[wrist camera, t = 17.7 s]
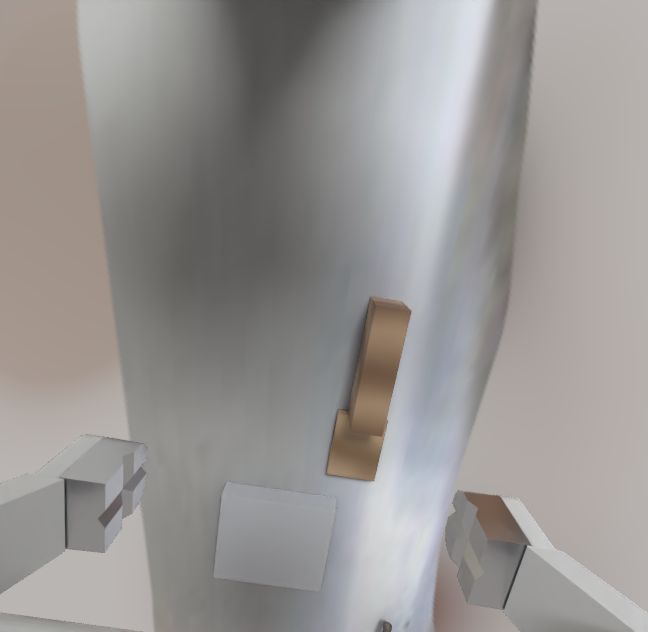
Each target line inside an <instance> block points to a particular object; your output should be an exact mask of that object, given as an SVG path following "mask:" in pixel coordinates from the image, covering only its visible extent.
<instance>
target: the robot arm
mask: <svg viewBox="0 0 648 632" xmlns="http://www.w3.org/2000/svg"><path fill="white" fill-rule="evenodd" d="M146 459H147V446H146V445H145V444H144V443H138V442H133V441H127V440H120V439H115V438H109V437H102V436H96V435H89V434H86V435H81V436H80V437H79V438H78V439H76V440H75V441H74V442H73V443H72V444H70V445H69V446H68V447H67V448H65V449H64V450H63V451H62V452H61V453H59V454H58V455H57V456H56V457H55V458H53V459H52V460H51V461H50V462H48V463H47V464H46V465H45V466H44V467H42V468H41V469H40V470H39V471H38V472H36V473H35V474H25V475H22V476H19V477H16V478H13V479H11V480H8V481H5V482H2V483H0V594H1V593H3V592H4V591H6V590H7V589H9V588H10V587H11V586H13V585H15V584H16V583H18V582H19V581H21V580H22V579H24V578H25V577H27V576H28V575H30V574H31V573H33V572H34V571H36V570H37V569H39V568H40V567H42V566H43V565H45V564H46V563H48V562H49V561H51V560H52V559H54V558H56V557H57V556H59V555H60V554H62V553H63V552H65V549H72V550H82V551H91V552H101V553H105V551H106V550H107V549H108V547H109V546H110V544H111V543H112V542H113V540H114V539H115V537H116V536H117V534H118V533H119V532H120V530H121V528H122V519H123V518H125V517H127V516H129V515H130V514H132V513H133V511H134V510H135V508H136V507H137V505H138V504H139V501H140V499H141V497H142V494H143V492H144V488H145V483H146V472H145V471H144V469H143V468H142V466H141V465H142V464H143V463H144V461H145V460H146ZM453 506H454V508H455V510H456V511H455V512H454V513H453V514H452V515H451V516H449V517H448V520H447V524H446V530H445V541H446V546H447V551H448V553H449V556H450V559H451V560H452V561H453V562H454V563H455V564H456V565H457V566H458V567H459V570H458V574H457V578H458V581H459V583H460V586H461V588H462V591H463V594H464V596H465V599H466V602H467V604H472V605H477V606H483V607H489V608H495V609H501V610H504V611H503V612H504V613H505V614H506V616H507V617H508V618H509V619H510V620H511V621H512V623H513V624H514V625H515V626H516V627H517V628H518V630H519V631H520V632H648V613H647V612H645V611H644V610H643V609H641V608H640V607H639V606H637V605H636V604H634V603H633V602H631V601H630V600H629V599H628V598H626V597H625V596H623V595H622V594H620V593H619V592H618V591H617V590H615V589H614V588H612V587H611V586H610V585H608V584H607V583H606V582H604V581H603V580H601V579H600V578H599V577H597V576H596V575H594V574H593V573H592V572H590V571H589V570H588V569H586V568H585V567H583V566H582V565H581V564H579V563H578V562H577V561H575V560H574V559H572V558H571V557H570V556H568V555H567V554H566V553H564V552H563V551H560V550H555V548H554V547H553V546H552V544H551V543H550V541H549V540H548V539H547V537H546V536H545V535H544V533H543V532H542V530H541V529H540V527H539V526H538V525H537V523H536V522H535V520H534V519H533V518H532V516H531V515H530V513H529V512H528V511H527V509H526V508H525V506H524V505H523V504H522V502H521V501H520V500H519V499H517V498H516V497H510V496H502V495H488V494H481V493H474V492H467V491H460V490H458V491H457V493H456V494H455V496H454V499H453ZM0 632H141V631H134V630H125V629H118V628H111V627H104V626H96V625H89V624H82V623H74V622H66V621H59V620H52V619H44V618H37V617H30V616H22V615H15V614H7V613H0Z"/></svg>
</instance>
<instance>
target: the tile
mask: <svg viewBox="0 0 648 632" xmlns="http://www.w3.org/2000/svg"><path fill="white" fill-rule="evenodd" d="M335 515H336V498H335V497H328V496H321V495H315V494H308V493H301V492H294V491H287V490H280V489H273V488H266V487H259V486H252V485H245V484H238V483H231V482H226V485H225V487H224V490H223V492H222V497H221V506H220V516H219V525H218V535H217V544H216V554H215V563H214V573H213V578H219V579H227V580H234V581H241V582H248V583H255V584H263V585H270V586H277V587H284V588H292V589H299V590H306V591H313V592H320V591H321V586H322V581H323V576H324V571H325V566H326V561H327V556H328V550H329V545H330V540H331V535H332V530H333V525H334V520H335Z"/></svg>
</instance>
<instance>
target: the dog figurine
mask: <svg viewBox="0 0 648 632" xmlns="http://www.w3.org/2000/svg"><path fill="white" fill-rule="evenodd" d="M391 630H392V625H391V624H390V623H389V622H384V623H383V631H382V632H391Z"/></svg>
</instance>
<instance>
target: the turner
mask: <svg viewBox="0 0 648 632" xmlns="http://www.w3.org/2000/svg"><path fill="white" fill-rule="evenodd" d="M410 314H411V310H410V309H409V308H408V307H407V306H406V305H405V304H404V303H403V302H400V301H394V300H388V299H382V298H376V297H371V298H370V303H369V308H368V312H367V317H366V322H365V327H364V332H363V337H362V342H361V347H360V352H359V357H358V362H357V367H356V372H355V377H354V382H353V387H352V392H351V397H350V402H349V407H348V411H347V410H340V409H338V413H337V418H336V423H335V428H334V434H333V439H332V444H331V449H330V454H329V459H328V465H327V474H330V475H337V476H343V477H350V478H356V479H363V480H369V481H374V479H375V475H376V471H377V466H378V462H379V458H380V453H381V449H382V445H383V440H384V436H385V432H386V427H387V423H388V421H387V414H388V410H389V406H390V401H391V397H392V393H393V388H394V384H395V380H396V375H397V371H398V367H399V362H400V358H401V354H402V349H403V345H404V341H405V336H406V332H407V327H408V323H409V319H410Z"/></svg>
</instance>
